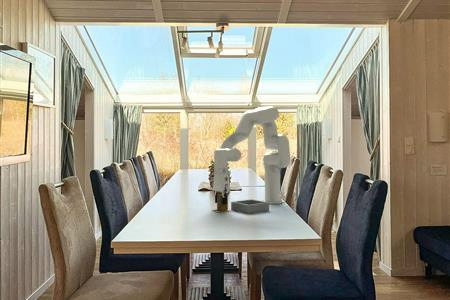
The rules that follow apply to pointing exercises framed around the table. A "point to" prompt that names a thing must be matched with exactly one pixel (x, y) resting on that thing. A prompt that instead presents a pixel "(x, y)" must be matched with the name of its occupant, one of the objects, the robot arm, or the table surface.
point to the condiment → (219, 204)
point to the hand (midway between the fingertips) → (221, 203)
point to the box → (250, 206)
